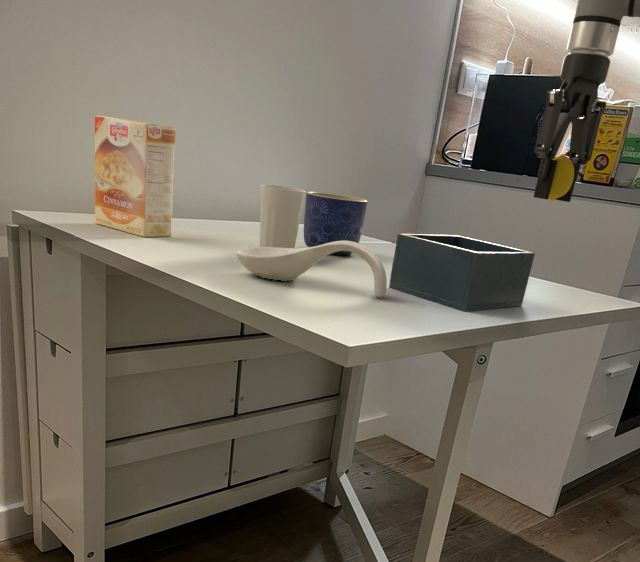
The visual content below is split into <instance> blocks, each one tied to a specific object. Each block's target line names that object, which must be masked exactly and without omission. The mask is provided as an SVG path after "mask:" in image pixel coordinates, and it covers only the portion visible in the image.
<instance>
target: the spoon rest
mask: <svg viewBox="0 0 640 562" xmlns="http://www.w3.org/2000/svg"><path fill="white" fill-rule="evenodd" d="M338 251H349V252H353V253H352V254H355V255H357V256H359V257H360V258H361V259H363V260H364V261H365V262H366V263H367V264H368V265H369V267H370V270H371V271H372V275H373V282H374V285H373V287H374V288H373V289H374V290H373V294H374V296H375V298H381V297H382V296H383V295H385V294H386V292H387V285H388V284H387V280H388V279H387V273H386V269H385V267H384V265H383V262H382V260H381V259H380V258H379V256H378V255H377V254H376V253H374V251H372V250H371V249H370V248H368V247H367V246H365V245H363V244H362V243H360V242H359V243H356V242H352V241H335V242H330V243H326V244H322V245H319V246H315V247H301V248H300V247H295V248H275V247H260V246H253V247H245V248H241V249H238V250H237V251H236V252H235V254H236V257H237V259H238V261H239V262H240V264H242V266H243V267H244V268H245V269H246V270H248V271H249V272H251V273H252V274H254V275H255V274H256V275H255V276H257V275H258V276H261V277H264V278H268V279H267V280H269V279H274V280H273V281H276V280H281V281H280V282H291V281H294V280H296V279H297V278H298V277H300V276H302V275H303V274H304V273H306V272H307V271H308V270H310V269H311V268H312V267H313V266H315V265H316V264H317V263H318V262H320V261H321V260H323V259H324V258H326V257H327V256H329V255H332V254H331V253H334V252H338ZM258 276H257V277H258ZM261 277H260V278H261ZM264 278H263V279H264Z"/></svg>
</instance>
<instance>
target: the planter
mask: <svg viewBox="0 0 640 562" xmlns="http://www.w3.org/2000/svg"><path fill="white" fill-rule="evenodd" d="M304 204H305V205H304V215H303V217H304V218H303V241H304V244H305V245H306V248H308V247H315V246H319V245H322V244H326V243H330V242H335V241H352V242H356V243H359V244H360V241H361V237H362V232H363V227H364V223H365V218H366V213H367V206H368V200H367V199H364V198H361V197H356V196H350V195H344V194H337V193H330V192H320V191H306V192H305V203H304ZM351 254H354V253H353V252H349V251H338V252H334V253H331V254H330V255H339V256H343V255H344V256H345V255H351Z"/></svg>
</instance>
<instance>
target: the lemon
mask: <svg viewBox="0 0 640 562" xmlns="http://www.w3.org/2000/svg"><path fill="white" fill-rule="evenodd" d="M552 160H557V161H558V162H557V166H556V170H555V174H554V178H553V182H552V186H551V190H550V194H549V198H548V200H549V201H550V202H555V201H556V198H558V197H561V196H563V195H565V194H566V193H567V192H568V191H569V189H570V187H571V185H572V183H573V179H574V166H573V163H572V162H571V161H570V159H569V157H567V156H566V154H564V153H562V154H560V155H559V156H555V158H554V159H552Z"/></svg>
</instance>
